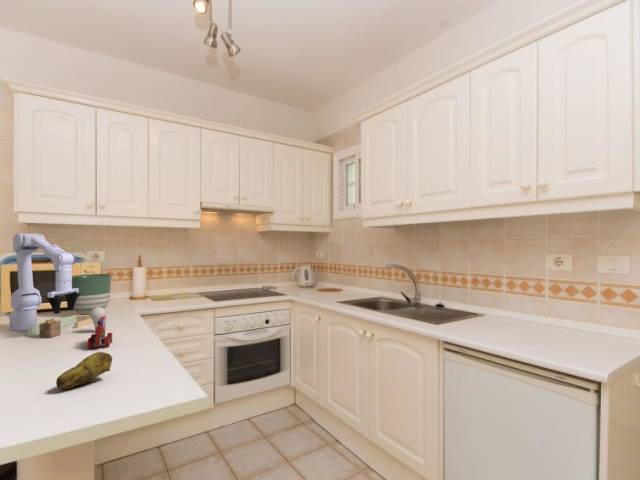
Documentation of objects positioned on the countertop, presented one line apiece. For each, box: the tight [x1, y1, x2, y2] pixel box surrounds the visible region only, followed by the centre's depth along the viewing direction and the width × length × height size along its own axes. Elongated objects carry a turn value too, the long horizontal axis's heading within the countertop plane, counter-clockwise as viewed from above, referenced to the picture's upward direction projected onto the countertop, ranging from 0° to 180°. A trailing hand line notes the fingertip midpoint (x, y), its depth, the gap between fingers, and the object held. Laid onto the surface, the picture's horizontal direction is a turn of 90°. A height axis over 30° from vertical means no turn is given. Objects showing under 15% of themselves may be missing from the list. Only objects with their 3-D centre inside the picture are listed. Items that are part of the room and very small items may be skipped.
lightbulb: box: [90, 307, 108, 331], centre depth 151 cm, size 6×6×11 cm
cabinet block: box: [38, 318, 62, 339], centre depth 145 cm, size 5×5×7 cm
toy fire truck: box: [86, 316, 113, 350], centre depth 132 cm, size 7×12×10 cm, turn 23°
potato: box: [55, 351, 113, 390], centre depth 96 cm, size 8×13×8 cm, turn 123°
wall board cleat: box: [27, 314, 94, 337], centre depth 158 cm, size 10×26×4 cm, turn 176°
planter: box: [72, 273, 112, 315], centre depth 189 cm, size 20×20×21 cm
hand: (63, 311), depth 149 cm, fingers open, 7 cm apart
